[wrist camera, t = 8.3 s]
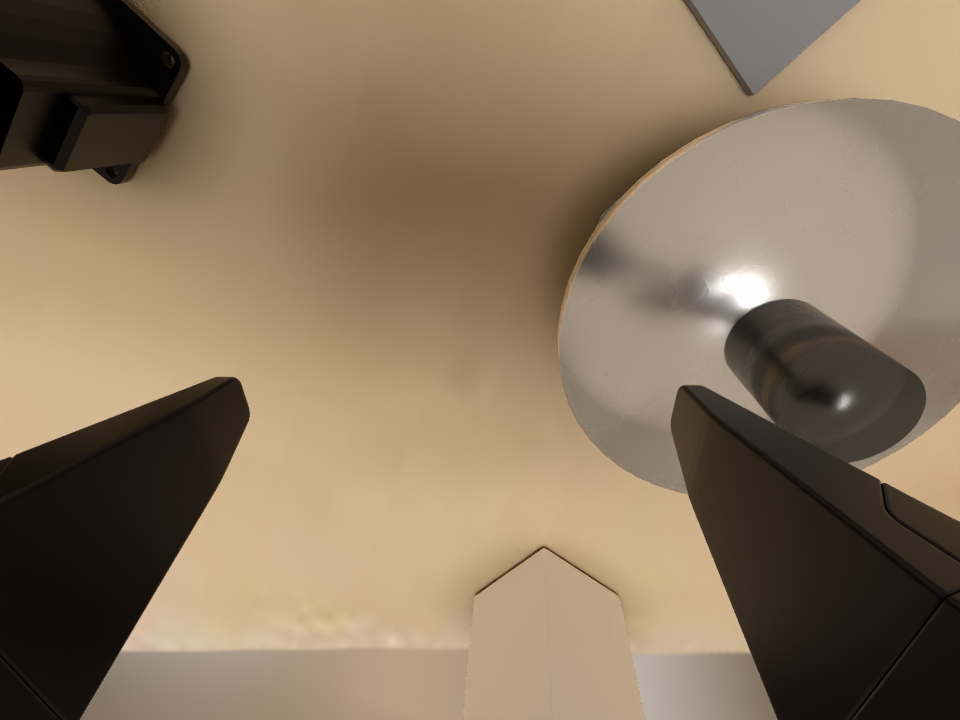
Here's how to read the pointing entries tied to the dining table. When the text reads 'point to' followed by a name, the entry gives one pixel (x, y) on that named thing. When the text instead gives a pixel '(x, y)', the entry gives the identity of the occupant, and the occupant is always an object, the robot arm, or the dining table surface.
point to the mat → (764, 32)
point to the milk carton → (549, 648)
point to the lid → (776, 285)
